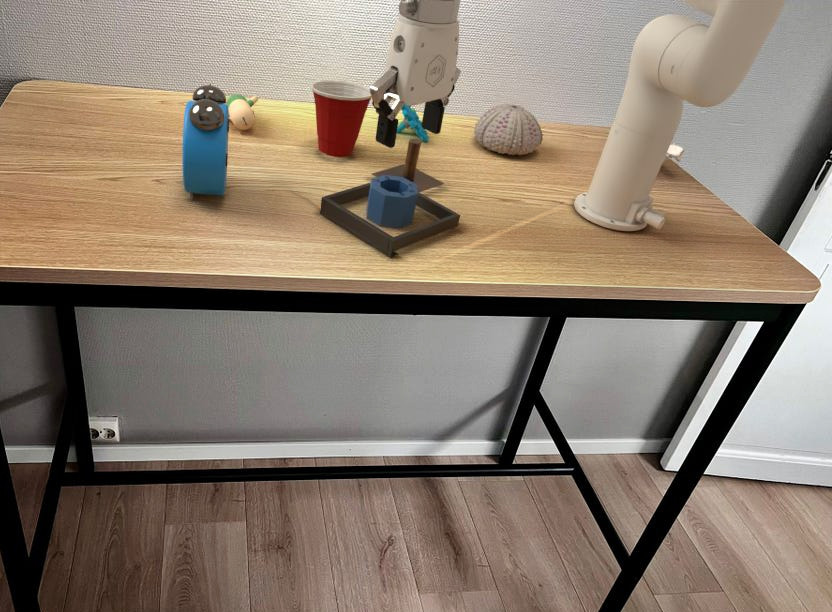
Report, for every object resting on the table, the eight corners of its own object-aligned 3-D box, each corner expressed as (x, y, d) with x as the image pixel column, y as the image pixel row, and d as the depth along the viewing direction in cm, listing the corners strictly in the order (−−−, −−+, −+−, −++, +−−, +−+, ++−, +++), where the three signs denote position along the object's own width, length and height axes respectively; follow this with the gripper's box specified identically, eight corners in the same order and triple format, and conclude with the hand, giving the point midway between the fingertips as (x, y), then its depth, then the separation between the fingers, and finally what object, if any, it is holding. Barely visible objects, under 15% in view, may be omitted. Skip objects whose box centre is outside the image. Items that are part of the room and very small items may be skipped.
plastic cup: (353, 141, 135) (362, 76, 127) (372, 167, 127) (383, 98, 120) (297, 141, 131) (303, 74, 124) (313, 167, 123) (320, 97, 116)
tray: (456, 231, 112) (460, 215, 110) (390, 258, 103) (393, 240, 101) (387, 192, 120) (389, 176, 118) (319, 213, 111) (321, 196, 109)
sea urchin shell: (459, 144, 141) (468, 103, 136) (488, 128, 150) (498, 89, 145) (521, 167, 136) (533, 125, 131) (547, 148, 145) (560, 109, 140)
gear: (431, 144, 134) (401, 98, 131) (405, 162, 136) (374, 117, 133) (432, 131, 144) (404, 88, 140) (408, 148, 146) (379, 106, 143)
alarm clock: (189, 170, 116) (189, 75, 107) (228, 174, 117) (231, 79, 108) (182, 209, 106) (181, 107, 97) (225, 212, 107) (228, 111, 98)
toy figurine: (220, 121, 139) (229, 143, 130) (210, 99, 136) (218, 120, 127) (259, 104, 139) (271, 124, 130) (250, 81, 136) (261, 101, 127)
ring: (420, 223, 111) (427, 190, 108) (389, 234, 107) (395, 200, 104) (387, 204, 115) (393, 171, 112) (356, 214, 111) (361, 181, 107)
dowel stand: (443, 188, 124) (453, 146, 119) (408, 200, 118) (417, 156, 114) (405, 168, 128) (413, 126, 124) (369, 179, 123) (376, 135, 118)
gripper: (405, 23, 86) (385, 160, 96) (492, 9, 96) (466, 134, 107) (360, 6, 90) (346, 140, 100) (449, -5, 100) (428, 117, 110)
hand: (408, 137), depth 103 cm, fingers open, 9 cm apart
